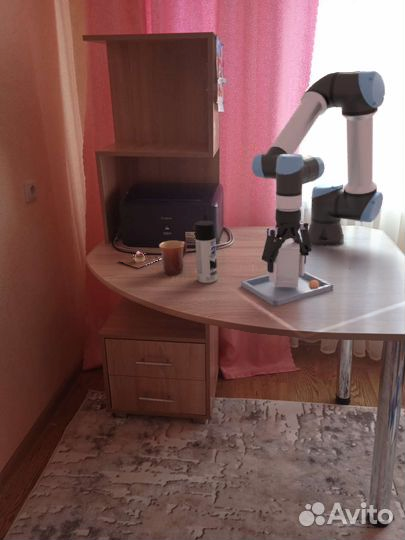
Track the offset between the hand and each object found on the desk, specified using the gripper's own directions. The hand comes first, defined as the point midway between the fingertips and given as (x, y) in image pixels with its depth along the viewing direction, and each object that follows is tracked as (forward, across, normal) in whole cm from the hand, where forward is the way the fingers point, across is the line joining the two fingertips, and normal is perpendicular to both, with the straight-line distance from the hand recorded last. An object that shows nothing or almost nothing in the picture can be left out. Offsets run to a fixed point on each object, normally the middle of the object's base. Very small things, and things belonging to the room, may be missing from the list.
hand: (286, 277), depth 147 cm
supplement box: (+2, 0, 0) cm, 2 cm away
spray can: (+4, +17, -21) cm, 27 cm away
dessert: (+5, +30, -51) cm, 59 cm away
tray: (+4, 0, 0) cm, 4 cm away
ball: (+3, -6, +6) cm, 9 cm away
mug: (+4, +22, -35) cm, 42 cm away
